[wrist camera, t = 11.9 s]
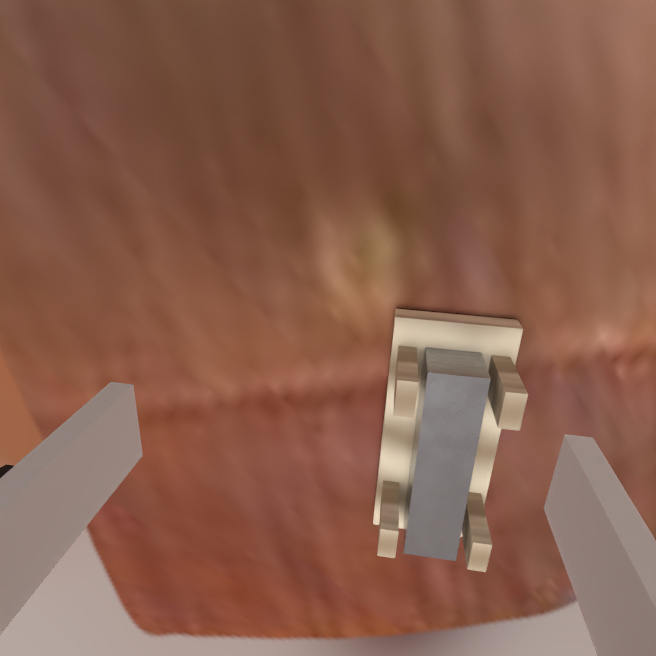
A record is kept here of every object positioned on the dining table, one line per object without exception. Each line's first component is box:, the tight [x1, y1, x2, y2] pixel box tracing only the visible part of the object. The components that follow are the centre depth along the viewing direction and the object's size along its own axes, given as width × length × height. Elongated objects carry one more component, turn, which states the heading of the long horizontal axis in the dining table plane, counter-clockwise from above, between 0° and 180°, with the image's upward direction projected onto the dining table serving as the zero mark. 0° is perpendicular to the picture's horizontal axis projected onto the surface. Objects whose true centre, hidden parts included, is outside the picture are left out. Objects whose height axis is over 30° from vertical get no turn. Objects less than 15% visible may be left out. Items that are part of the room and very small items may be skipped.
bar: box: [404, 347, 491, 561], centre depth 41 cm, size 18×4×4 cm, turn 178°
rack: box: [373, 309, 528, 572], centre depth 41 cm, size 22×10×8 cm, turn 177°
